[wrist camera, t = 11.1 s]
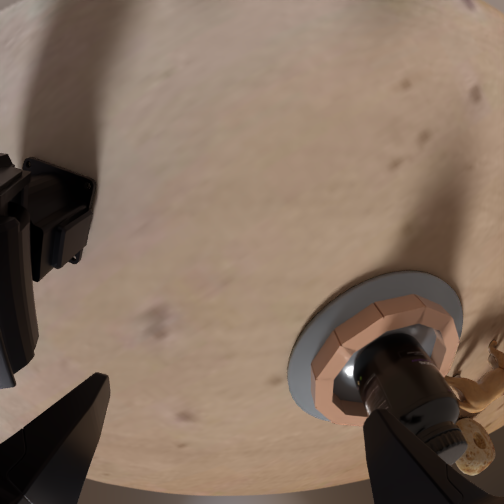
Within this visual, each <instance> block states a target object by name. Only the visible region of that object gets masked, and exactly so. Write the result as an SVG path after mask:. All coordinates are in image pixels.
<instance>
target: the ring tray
mask: <svg viewBox="0 0 504 504" xmlns="http://www.w3.org/2000/svg"><path fill="white" fill-rule="evenodd" d="M462 325H463V312H462V307H461V303H460V301H459V298H458V296H457V295H456V293H455V291H454V290H453V289H452V288H451V287H450V286H449V285H448V284H447V283H446V282H445V281H443V280H442V279H440V278H439V277H437V276H435V275H432V274H429V273H426V272H421V271H398V272H392V273H388V274H383V275H380V276H377V277H374V278H372V279H369V280H366V281H364V282H362V283H360V284H358V285H356V286H354V287H352V288H351V289H349V290H347V291H346V292H344V293H343V294H341V295H339V296H338V297H337V298H335V299H334V300H333V301H332V302H330V303H329V304H328V305H326V306H325V307H324V308H323V309H322V310H321V311H320V312H319V313H318V314H317V315H316V316H315V317H314V318H313V319H312V320H311V321H310V323H309V324H308V325H307V326H306V327H305V329H304V330H303V332H302V333H301V335H300V336H299V338H298V340H297V341H296V343H295V345H294V347H293V349H292V352H291V355H290V358H289V362H288V367H287V379H288V385H289V390H290V393H291V395H292V398H293V399H294V401H295V402H296V404H297V405H298V406H299V407H300V408H301V409H302V410H303V411H305V412H306V413H308V414H309V415H311V416H314V417H316V418H318V419H322V420H325V421H331V422H332V423H334V424H341V425H352V426H363V425H364V422H365V420H366V419H367V418H368V415H367V412H366V410H365V407H364V405H363V402H362V400H361V397H360V394H359V392H358V389H357V387H356V384H355V381H354V378H353V368H354V365H355V362H356V360H357V358H358V357H359V355H360V354H361V352H362V351H363V350H364V349H365V348H366V347H367V346H368V345H370V344H371V343H372V342H374V341H375V340H377V339H379V338H381V337H383V336H386V335H389V334H393V333H406V334H409V335H411V336H413V337H414V338H416V339H417V341H418V342H419V343H420V344H421V346H422V347H423V348H424V350H425V351H426V353H427V354H428V355H429V357H430V358H431V360H432V361H433V363H434V364H435V366H436V367H437V368H438V370H439V371H440V373H441V374H442V376H443V377H445V376H446V375H447V373H448V372H449V370H450V369H451V366H452V363H453V360H454V357H455V354H456V351H457V348H458V345H459V340H460V336H461V332H462Z"/></svg>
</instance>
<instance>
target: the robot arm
mask: <svg viewBox="0 0 504 504" xmlns="http://www.w3.org/2000/svg"><path fill="white" fill-rule="evenodd" d="M29 162H30V163H31V166H29ZM87 183H89V184H90V185H91V187H90V189H89V188H87ZM95 189H96V182H95V181H94V179H92V178H90V177H87V176H84V175H81V174H79V173H76V172H73V171H70V170H67V169H65V168H62V167H59V166H56V165H53V164H50V163H48V162H45V161H42V160H39V159H36V158H34V157H29V158H26V159H25V161H24V164H23V169H22V170H21V169H18V168H15V165H13V164H12V162H11V160H10V158H9V156H8V154H3V153H0V389H3V388H10V387H15V386H16V381H15V378H14V375H13V374H15V373H16V372H18V371H19V370H20V369H22V368H23V367H25V366H26V365H27V364H28V363H29V362H30V361H31V360H32V358H33V357H34V355H35V354H34V349H35V347H36V344H37V341H38V337H39V333H38V324H37V317H36V309H35V301H34V292H33V281H35V282H39V281H40V280H41V279H42V278H43V277H44V276H45V275H46V274H47V273H48V272H50V271H51V270H52V269H53V268H56V269H60V268H61V267H63V266H64V265H65V264H66V263H67V262H70V263H72V264H77V263H78V262H79V261H80V260H81V256H82V250H83V247H85V246H86V244H87V239H88V234H89V229H90V224H91V220H92V215H93V213H92V210H91V206H92V201H93V197H94V193H95ZM73 256H76V259H75V258H74V257H73ZM32 280H33V281H32ZM109 399H110V383H109V377H108V375H106V374H102V373H99V372H96V373H94V374H93V375H91V376H90V377H89V378H88V379H86V380H85V381H84V382H82V383H81V384H80V385H78V386H77V387H76V388H74V389H73V390H72V391H70V392H69V393H68V394H67V395H65V396H64V397H63V398H61V399H60V400H59V401H57V402H56V403H55V404H53V405H52V406H51V407H50V408H48V409H47V410H46V411H44V412H43V413H42V414H40V415H39V416H38V417H36V418H35V419H34V420H33V421H31V422H30V423H29V424H27V425H26V426H25V427H24V428H23V429H21V430H19V431H18V432H17V433H15V434H14V435H13V436H11V437H10V438H8V439H7V440H5V441H4V442H2V443H1V444H0V504H77V502H78V499H79V496H80V493H81V490H82V487H83V484H84V481H85V478H86V475H87V472H88V469H89V467H90V464H91V461H92V458H93V455H94V452H95V450H96V447H97V444H98V442H99V439H100V435H101V431H102V427H103V423H104V419H105V415H106V411H107V407H108V403H109ZM363 431H364V441H365V451H366V461H367V467H368V472H369V477H370V482H371V487H372V493H373V498H374V504H504V497H497V496H493V495H490V494H488V493H486V492H485V491H483V490H482V489H480V488H479V487H477V486H476V485H475V484H473V483H472V482H470V481H469V480H467V479H466V478H465V477H463V476H462V475H461V474H459V473H458V472H457V471H456V470H454V469H453V468H452V467H451V466H450V465H449V464H447V463H446V462H445V461H444V460H443V459H442V458H440V457H439V456H438V455H437V454H436V453H435V452H434V451H432V450H431V449H430V448H429V447H428V446H427V445H426V444H424V443H423V442H422V441H421V440H420V439H419V438H418V437H417V436H415V435H414V434H413V433H412V432H411V431H410V430H409V429H407V428H406V427H405V426H404V425H403V424H402V423H401V422H400V421H399V420H397V419H396V418H395V417H394V416H393V415H392V414H391V413H390V412H389V411H387V410H386V409H384V408H378V409H374V410H373V411H372V412H371V414H370V415H369V417H368V418H367V419H366V420H365V422H364V425H363Z"/></svg>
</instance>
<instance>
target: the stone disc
mask: <svg viewBox="0 0 504 504" xmlns="http://www.w3.org/2000/svg"><path fill="white" fill-rule="evenodd" d="M456 425H458V426H459V427H460V429H461V431H462V434H463V436H464V438H465V439H466V441H467V444H468V447H467V450H466V451H465V453H464V454H463V455H462V456H461V457H460V458H459V459H458V460H457V461H456V464H457V466H458V467H459V469H460V470H461V471H462V472H463V473H465V474H468V475H476V474H478V473H480V472H481V471H483V470H484V469H486V468H487V466H489V465H490V464H491V462H492V461H493V460H494V458H495V449H494V445H493V443H492V441H491V439H490V438H489V435H488V433H487V432H486V430H485V429H484V427H483V426H482V425H481V424H479V423H478V422H476V421H474V420H473V419H470V418H464V419H460V420H458V421H457V422H456Z"/></svg>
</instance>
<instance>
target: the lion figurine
mask: <svg viewBox="0 0 504 504" xmlns="http://www.w3.org/2000/svg"><path fill="white" fill-rule="evenodd" d="M496 346H497V342H496V341H492V342H491V343H490V345H489V352H490V353H491V355H490V357H489V358H488V362H489V364H490V365H491V366H492V368H493V369H494V370H492V371H490V372H488V373H486V374H485V375H484V376H483V377H482V378H481V379H480V380H479V382H478V383H476V382H475V381H472V380H470V379H467V378H461V376H460V375H456V376H455V377H449V376H445V377H444V379H445V380H446V382H447V383H448V385H449V386H452V388H453V389H454V390H456V391H457V393H458V395H459V398H460V400H459V399H458V401H459V404H460V408H462V409H464V410H466V411H467V412H470V413H476V412H480V411H482V410H483V409H485V408H486V407H487V406H488V405H489V404H490V403H491V402H493V401H494V400H495V399H497V398H499V397H500V396H502V395H504V353H502V352H501V351H498V350H497V349H496V348H495V347H496ZM495 358H496V359H497V361H496V359H495Z"/></svg>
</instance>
